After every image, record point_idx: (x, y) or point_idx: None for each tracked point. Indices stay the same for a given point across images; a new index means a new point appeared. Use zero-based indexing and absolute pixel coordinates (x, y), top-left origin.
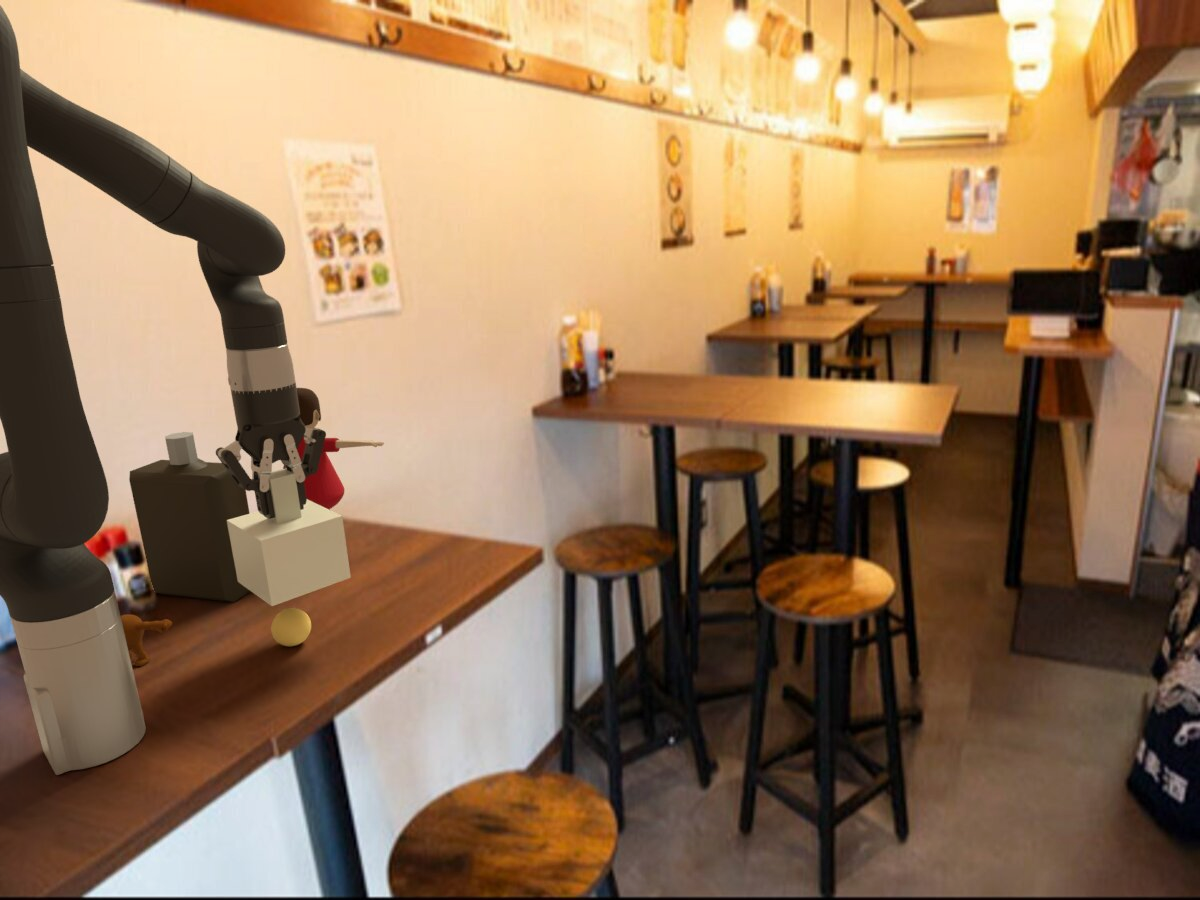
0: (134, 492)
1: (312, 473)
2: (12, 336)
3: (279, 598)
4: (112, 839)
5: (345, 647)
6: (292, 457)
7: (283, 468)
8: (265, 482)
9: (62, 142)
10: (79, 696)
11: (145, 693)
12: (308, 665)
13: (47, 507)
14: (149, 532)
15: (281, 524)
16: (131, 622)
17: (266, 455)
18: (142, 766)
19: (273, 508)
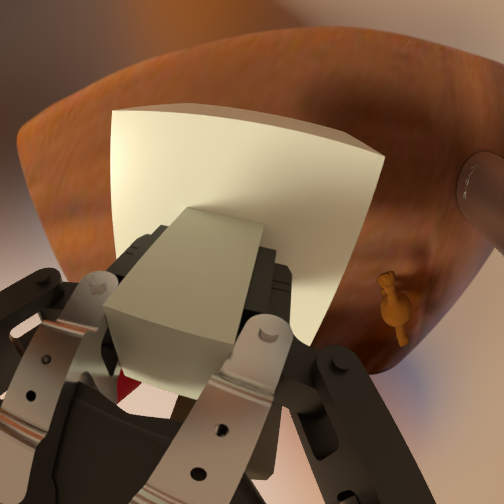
0: (274, 459)
1: (54, 273)
2: None
3: (330, 128)
4: None
5: (248, 94)
6: (52, 370)
7: (117, 403)
8: (257, 348)
9: None
10: None
11: (423, 224)
12: (305, 99)
13: None
14: (277, 417)
15: (258, 212)
16: (401, 307)
17: (198, 490)
18: (488, 122)
19: (257, 260)
